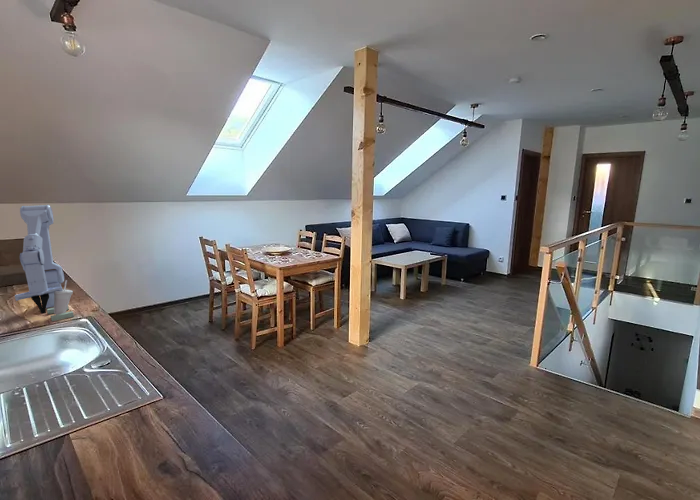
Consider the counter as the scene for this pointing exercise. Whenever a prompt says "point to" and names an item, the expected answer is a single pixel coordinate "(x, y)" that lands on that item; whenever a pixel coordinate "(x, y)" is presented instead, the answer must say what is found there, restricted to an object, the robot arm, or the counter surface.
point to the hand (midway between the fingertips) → (43, 312)
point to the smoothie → (61, 300)
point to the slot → (60, 316)
